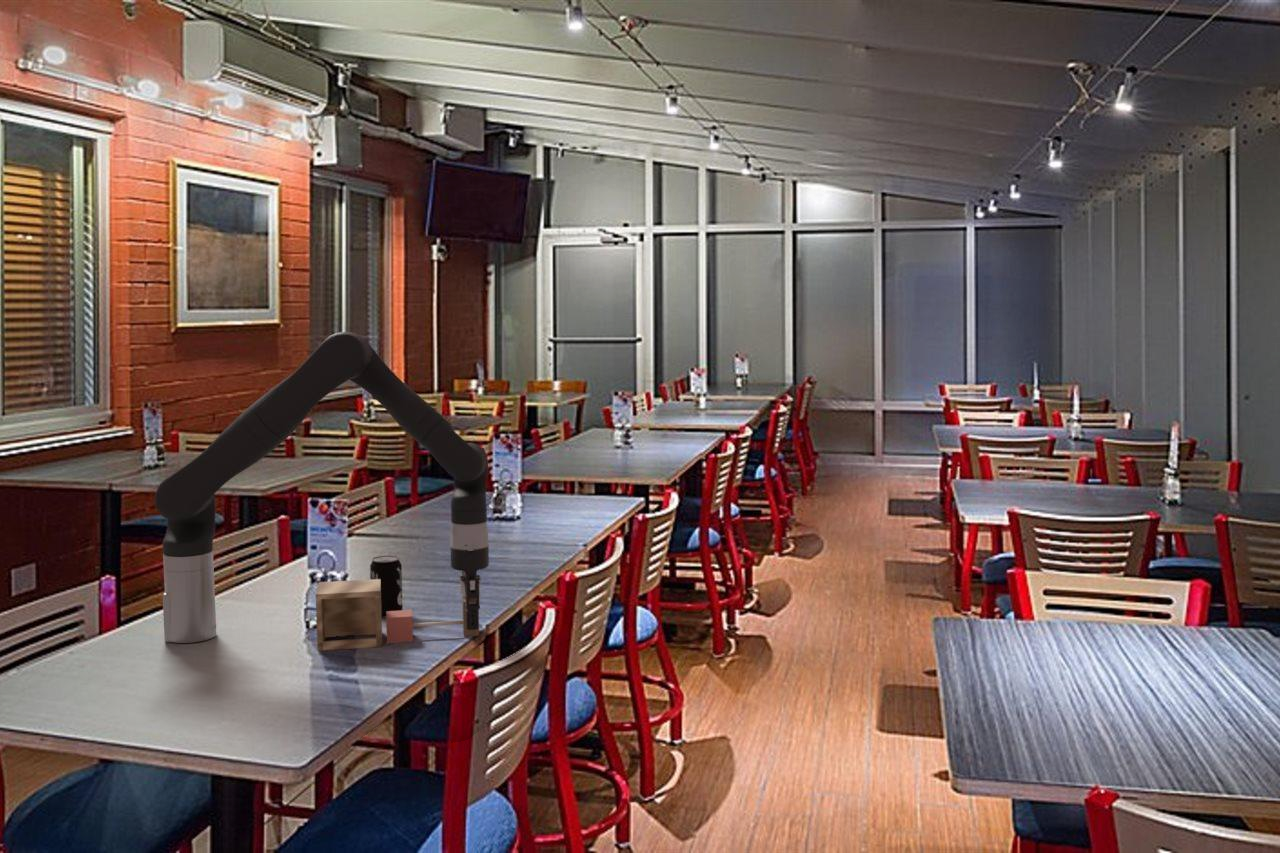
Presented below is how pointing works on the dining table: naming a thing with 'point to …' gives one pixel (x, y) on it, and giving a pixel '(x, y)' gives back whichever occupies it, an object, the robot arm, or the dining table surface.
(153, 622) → the dining table surface
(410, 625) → the corded block
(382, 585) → the beverage can
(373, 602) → the oak shelf
